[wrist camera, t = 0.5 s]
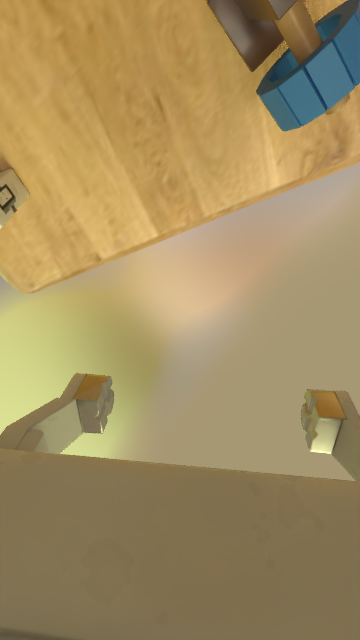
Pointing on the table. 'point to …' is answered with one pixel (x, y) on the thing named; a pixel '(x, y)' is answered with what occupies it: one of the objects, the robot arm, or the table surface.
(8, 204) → the ink box
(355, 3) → the blue segmented wheel
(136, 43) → the table surface
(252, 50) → the rack
